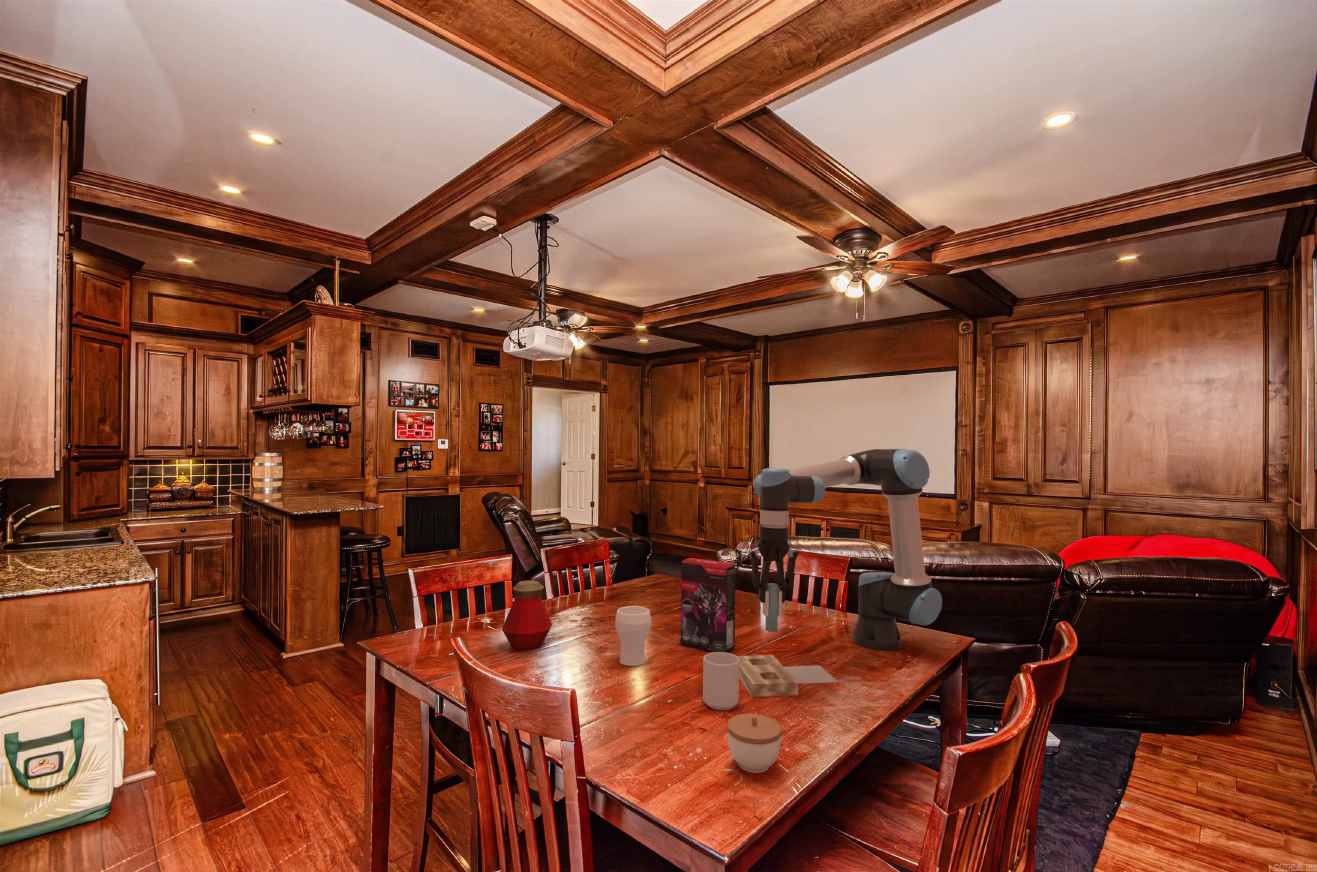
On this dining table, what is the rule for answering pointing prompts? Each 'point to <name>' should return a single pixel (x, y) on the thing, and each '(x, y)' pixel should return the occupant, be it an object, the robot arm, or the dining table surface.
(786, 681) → the hole block
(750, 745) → the lidded jar
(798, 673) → the mat
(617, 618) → the cup
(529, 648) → the bottle
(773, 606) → the peg
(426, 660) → the dining table surface
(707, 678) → the mug
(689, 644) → the graphics card box
